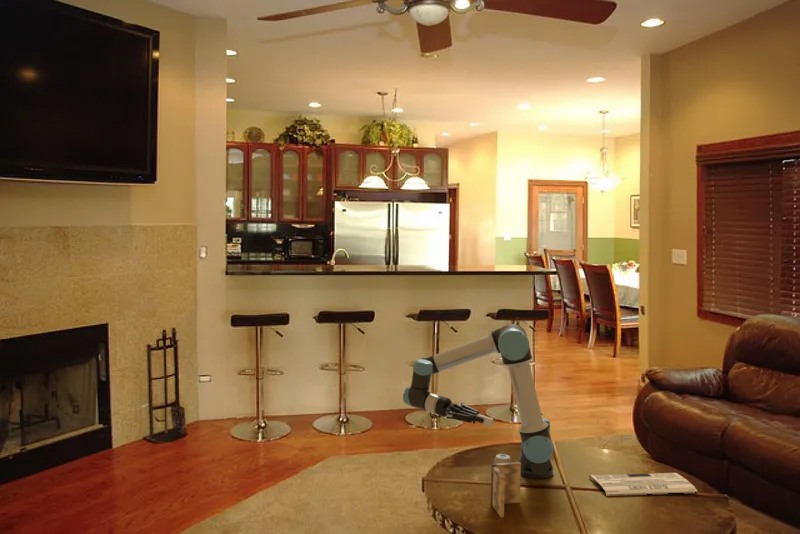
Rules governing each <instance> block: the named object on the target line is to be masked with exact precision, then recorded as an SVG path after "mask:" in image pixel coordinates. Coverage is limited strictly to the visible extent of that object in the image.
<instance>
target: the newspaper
mask: <svg viewBox="0 0 800 534" xmlns="http://www.w3.org/2000/svg"><path fill="white" fill-rule="evenodd" d="M588 479H589V480H591V482H594V483H595V484H599V486H600V487H601V488H602V489H603V490H604V491H605V496H607V497H613V496H614V497H615V496H618V497H619V496H644V495H645V496H646V495H647V494H652V495H669V494H668V493H684V494H696V493H695V492H697V493H698V489H697V488H696V486H695V485H693V484H692V483H691V482H690V481H689V480H688V479H686V478H685V477H684V476H682V475H680V474H679V473H678V472H663V473H662V472H659V473H657V472H656V473H653V472H652V473H623V474H621V473H620V474H618V473H617V474H589V475H588ZM647 496H648V495H647Z"/></svg>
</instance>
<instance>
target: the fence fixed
mask: <svg viewBox="0 0 800 534" xmlns="http://www.w3.org/2000/svg"><path fill="white" fill-rule="evenodd" d="M504 489H505V476H504V475H503V474H502V472H501V471H500V470H499V469H498V468H497V467H493V505H492V507H493V509H494V511H495V512H496V513H497V514H498V516H499V517H500V518H505V504H504Z"/></svg>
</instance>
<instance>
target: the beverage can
mask: <svg viewBox="0 0 800 534" xmlns="http://www.w3.org/2000/svg"><path fill="white" fill-rule="evenodd" d="M511 459H512V458H511V456H510V455H508V454H506V453H498V454H496V455H495V458H494V464H495V467H496V463H512V460H511Z"/></svg>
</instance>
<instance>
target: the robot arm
mask: <svg viewBox="0 0 800 534" xmlns="http://www.w3.org/2000/svg"><path fill="white" fill-rule="evenodd" d="M494 353H496V354H500V356H501V357H500V358H501V360H502V364H503V366H505V367H507V369H508V372H509V377H510V381H511V387H512V391H513V395H514V398H515V403H516V407H517V412H518V415H519V419H520V423H521V424H520V426H519V428H518V430H519V431H518V432H519V436H520V437H519V438H520V442H521V443H520V447H521V448H520V455H519V457H518V460H517V462H520V463H521V475H520V476H522V477H525V478H529V479H534V480H542V479H543V480H544V479H549V478H550V477H552V476H553V475H554V467H553V464H552V463H553V462H552V460H551V458H552V456H553V454H554V449H555V448H554V443H553V441H552V436H551V422H550V420H549V419H548V418H545V417H543V415H542V412H541V411H542V410H541V407H540V403H539V399H538V394H537V391H536V390H537V389H536V386H535V381H534V377H533V373H532V369H531V364H530V362H531V360H532V359H533V357H532V352H531V348H530V341H529V337H528V334H527V332H526V330H525V329H524V328H523V327H522V326H521V325H518V324H515V323H510V324H505V325H503V326H502V327H499V328H496V329H495V330H492V331H490V332H489V334H488V335H486V336H483V337H481V338H476V339H475V340H472V341H469V342H467V343H464V344H461V345H459V346H455V347H452V348H450V349H447V350H444V351H442V352H439V353H436V354H433V355H431V356H424V357H422V358H420V359H415V361H414V365H413V368H412V370H413V371H412V376H411V377H412V378H411V384H410V386H409V385H408V386H407V387H405V389H404V392H403V394H402V401H403V403H404V404H405V405H408V406H411V407H412V408H415V409H420V410H422V411H424V412H425V411H426V412H427V413H428V412H429V413H430V414H434V415H438V416H439V417H443V418H446V419H448V420H449V419H450V420H456V421H460V422H466V423H469V424H472V423H473V424H476V422H477V423H480V424H482V425H485V426H488V427H492V426H494V419H495V418H493V417H491V416H490V417H489V416H487V415H483V414H480V410H478V409H476V408H473V407H471V406H469V405H467V404H465V403H464V402H460V404H457V403H453V402H452V400H451V398H449V397H445V396H442V395H440V394H437V393H432V392H430V384H431V380H432V379H431V378H432V375H436V374H438V373H440V372H443V371H446V370H449V369H452V368H455V367H457V366H460V365H463V364H466V363H468V362H472V361H474V360H477V359H480V358H483V357H485V356H486V357H487V356H488V355H491V354H494Z"/></svg>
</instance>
